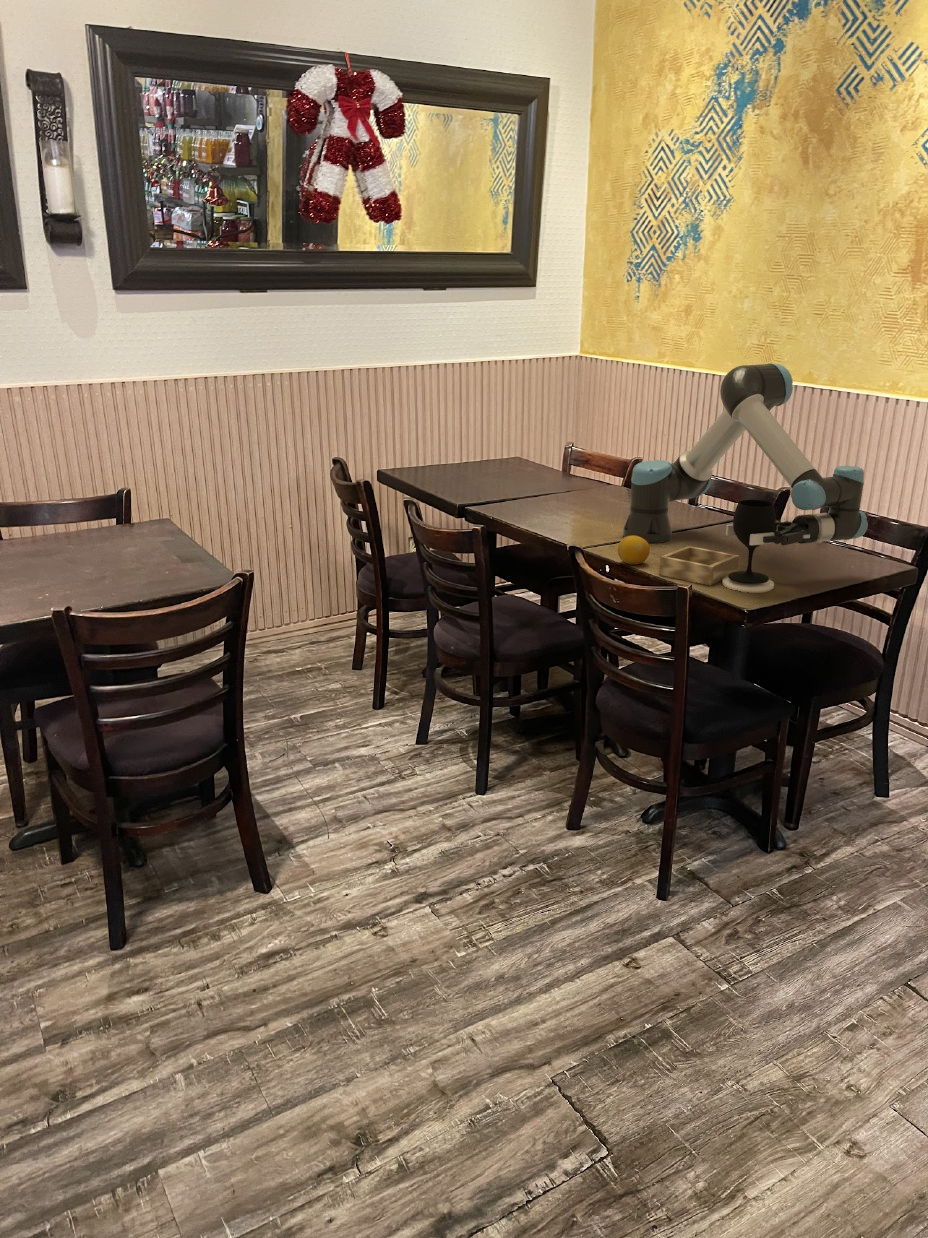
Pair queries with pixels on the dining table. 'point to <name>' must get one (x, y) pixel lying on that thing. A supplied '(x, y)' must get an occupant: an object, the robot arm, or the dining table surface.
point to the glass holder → (698, 565)
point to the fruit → (633, 550)
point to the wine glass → (752, 521)
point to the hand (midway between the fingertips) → (738, 534)
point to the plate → (748, 586)
